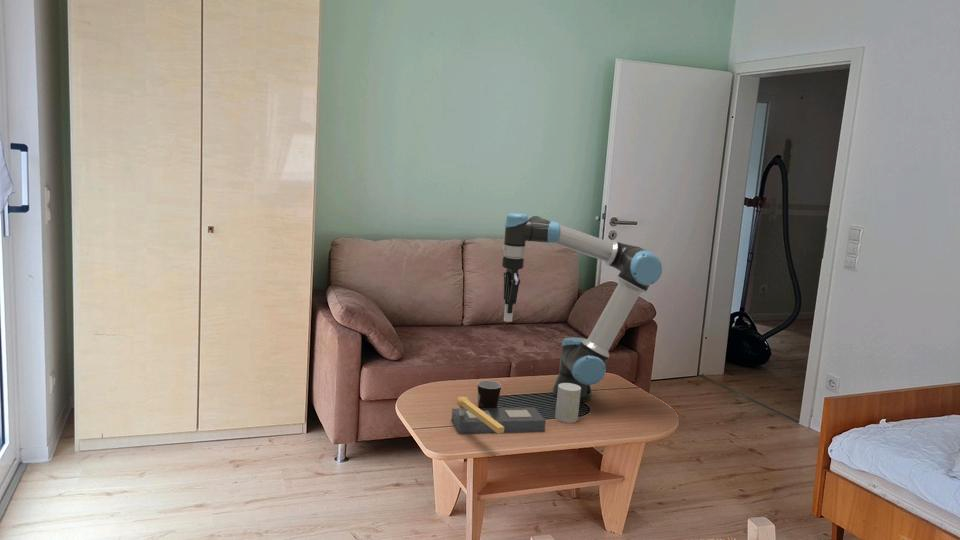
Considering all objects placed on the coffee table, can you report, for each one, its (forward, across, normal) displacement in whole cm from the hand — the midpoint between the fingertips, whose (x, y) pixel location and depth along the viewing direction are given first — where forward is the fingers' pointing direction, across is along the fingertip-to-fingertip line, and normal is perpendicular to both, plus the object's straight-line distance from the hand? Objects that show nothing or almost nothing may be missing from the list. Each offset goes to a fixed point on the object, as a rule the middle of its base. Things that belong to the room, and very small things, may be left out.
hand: (507, 321), depth 264 cm
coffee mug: (+33, +3, -6) cm, 33 cm away
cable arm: (+25, +29, -16) cm, 42 cm away
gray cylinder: (+33, +13, +21) cm, 41 cm away
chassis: (+32, +18, -6) cm, 38 cm away
